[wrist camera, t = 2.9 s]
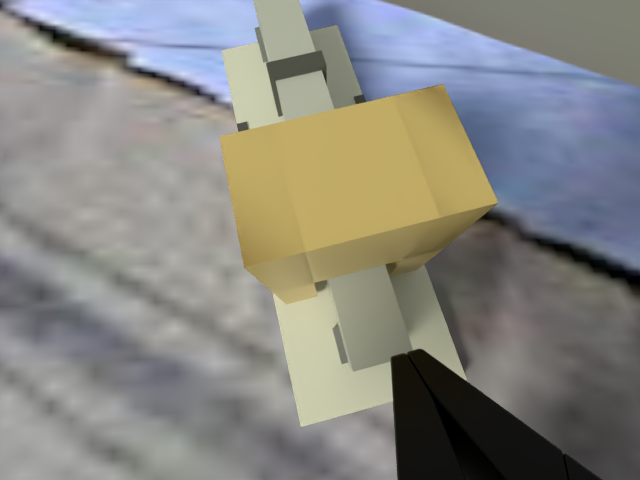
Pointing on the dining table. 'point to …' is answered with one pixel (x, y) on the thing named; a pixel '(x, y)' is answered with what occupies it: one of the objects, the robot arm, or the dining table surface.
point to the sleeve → (353, 190)
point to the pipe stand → (347, 290)
